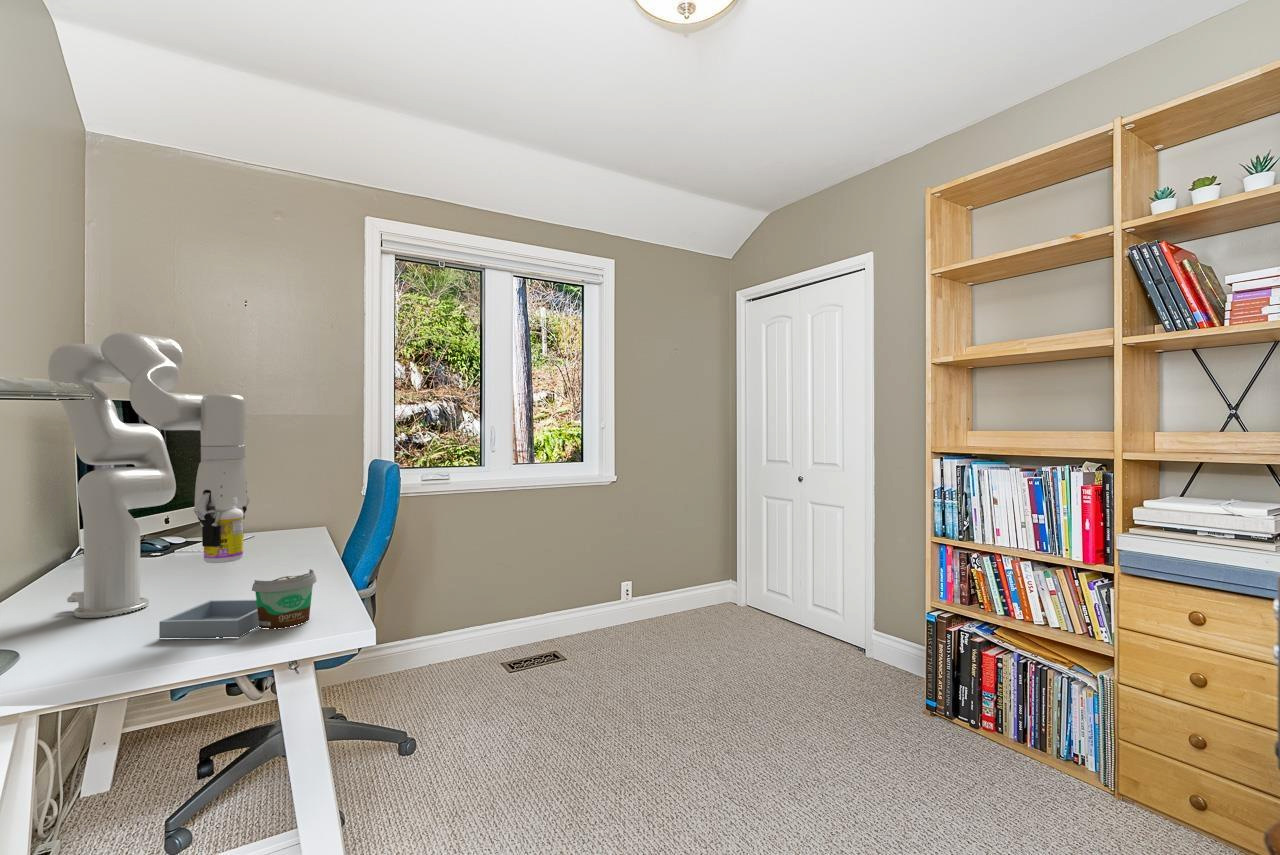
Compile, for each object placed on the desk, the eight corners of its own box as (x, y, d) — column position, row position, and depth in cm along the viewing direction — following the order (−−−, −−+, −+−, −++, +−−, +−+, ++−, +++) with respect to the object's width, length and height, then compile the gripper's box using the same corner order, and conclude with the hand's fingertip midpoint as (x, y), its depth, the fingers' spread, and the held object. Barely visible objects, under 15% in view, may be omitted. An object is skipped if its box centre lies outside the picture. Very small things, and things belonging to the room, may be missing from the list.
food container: (267, 636, 119) (267, 584, 119) (251, 630, 122) (251, 580, 122) (328, 619, 129) (328, 572, 129) (312, 614, 132) (312, 568, 132)
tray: (159, 640, 116) (159, 621, 116) (209, 616, 131) (209, 600, 131) (238, 638, 117) (238, 620, 117) (279, 615, 132) (279, 599, 132)
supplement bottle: (195, 563, 121) (195, 499, 121) (220, 556, 128) (220, 495, 128) (227, 564, 120) (227, 499, 120) (250, 557, 127) (250, 495, 127)
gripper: (231, 453, 133) (231, 535, 132) (173, 456, 115) (173, 551, 115) (266, 453, 133) (266, 535, 133) (214, 456, 116) (214, 551, 115)
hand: (223, 542), depth 124 cm, fingers closed on supplement bottle, 6 cm apart
